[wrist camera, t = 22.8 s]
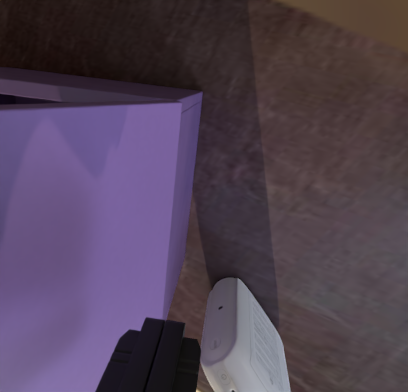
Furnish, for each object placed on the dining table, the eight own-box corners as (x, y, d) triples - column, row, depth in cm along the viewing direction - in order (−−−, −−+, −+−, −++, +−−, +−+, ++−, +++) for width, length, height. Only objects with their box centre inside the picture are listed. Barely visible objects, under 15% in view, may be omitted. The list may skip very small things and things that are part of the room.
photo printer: (202, 287, 38) (187, 380, 26) (237, 268, 37) (237, 357, 25) (253, 356, 40) (260, 471, 28) (287, 340, 39) (309, 453, 27)
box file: (20, 233, 38) (-102, 320, 24) (11, 67, 32) (-153, 59, 19) (184, 257, 37) (153, 361, 23) (202, 91, 31) (176, 100, 18)
